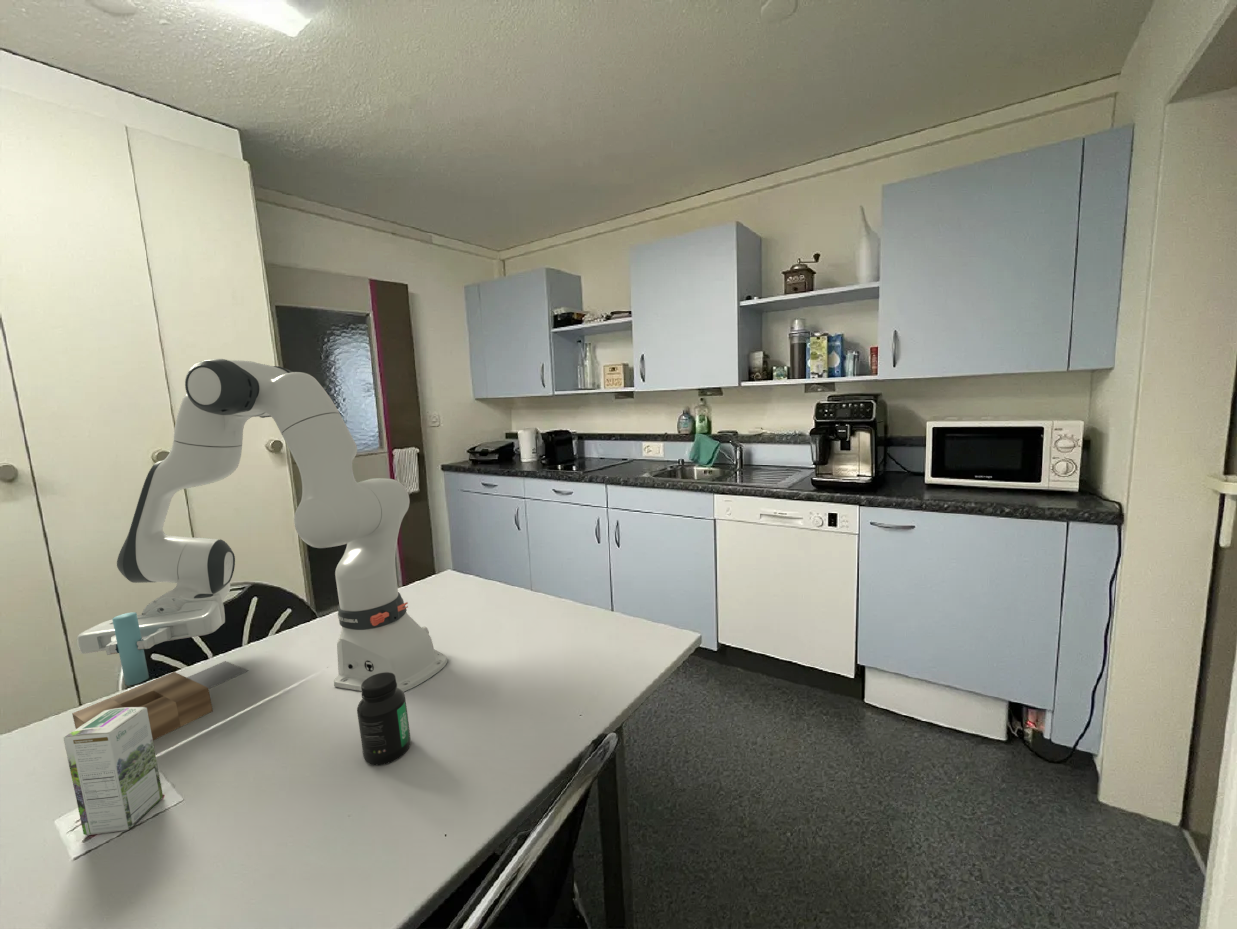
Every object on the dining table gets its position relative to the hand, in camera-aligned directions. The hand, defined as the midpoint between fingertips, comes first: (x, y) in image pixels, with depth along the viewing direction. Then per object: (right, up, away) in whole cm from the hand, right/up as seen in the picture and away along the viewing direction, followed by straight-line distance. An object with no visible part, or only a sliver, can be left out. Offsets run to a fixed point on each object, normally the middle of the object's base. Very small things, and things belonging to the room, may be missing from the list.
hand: (126, 647), depth 85 cm
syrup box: (+17, -17, -17) cm, 30 cm away
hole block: (+1, -15, +3) cm, 15 cm away
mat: (0, -13, +18) cm, 22 cm away
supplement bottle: (+49, -14, -7) cm, 51 cm away
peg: (0, -6, +2) cm, 7 cm away
